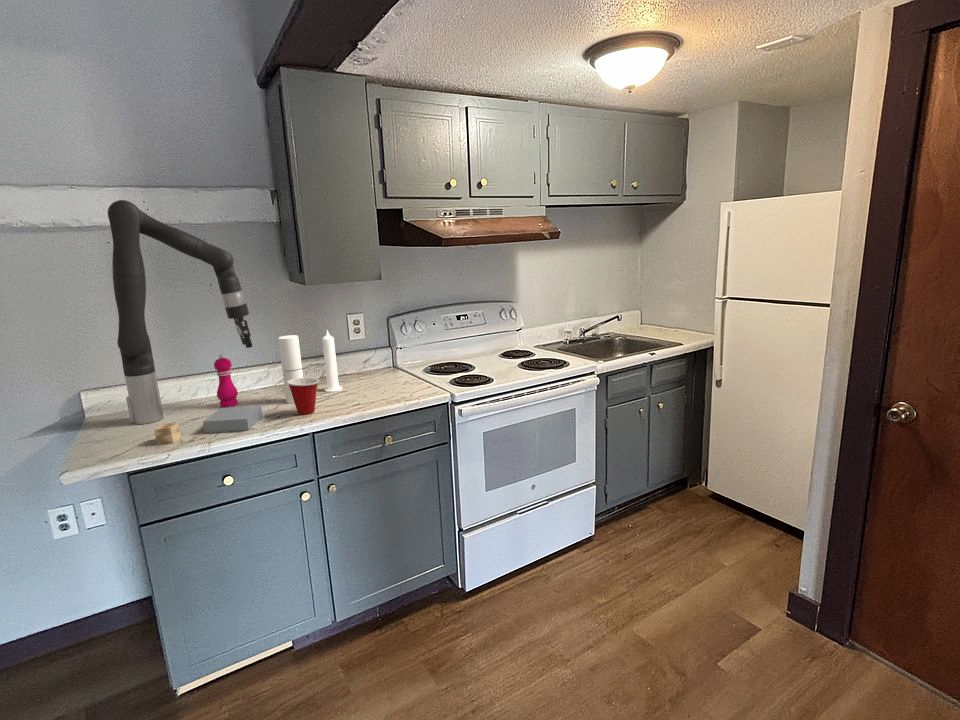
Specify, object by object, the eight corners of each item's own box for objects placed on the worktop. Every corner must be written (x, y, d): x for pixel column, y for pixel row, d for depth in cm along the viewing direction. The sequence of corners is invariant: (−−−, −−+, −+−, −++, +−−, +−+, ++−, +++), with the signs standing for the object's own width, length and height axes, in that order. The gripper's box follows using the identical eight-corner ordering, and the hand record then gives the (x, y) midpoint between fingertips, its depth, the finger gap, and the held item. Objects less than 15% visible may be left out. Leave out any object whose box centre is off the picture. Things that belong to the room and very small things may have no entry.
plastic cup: (326, 413, 190) (322, 380, 187) (295, 419, 185) (290, 385, 182) (318, 405, 199) (314, 374, 197) (288, 411, 194) (284, 379, 191)
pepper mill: (231, 408, 200) (223, 356, 196) (214, 407, 202) (206, 356, 197) (243, 402, 207) (235, 352, 203) (226, 401, 209) (219, 352, 204)
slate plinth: (205, 433, 175) (203, 421, 174) (222, 419, 188) (220, 408, 187) (248, 430, 176) (247, 418, 175) (262, 416, 189) (261, 405, 188)
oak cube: (156, 444, 167) (154, 429, 166) (164, 438, 172) (162, 423, 171) (173, 443, 167) (170, 428, 166) (181, 437, 172) (178, 422, 171)
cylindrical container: (297, 403, 203) (289, 339, 197) (282, 402, 205) (274, 338, 199) (309, 398, 209) (302, 335, 204) (294, 397, 212) (286, 334, 206)
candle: (345, 387, 222) (339, 328, 216) (337, 392, 215) (330, 331, 210) (329, 387, 224) (323, 328, 218) (321, 392, 217) (314, 331, 211)
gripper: (222, 305, 202) (234, 345, 207) (227, 308, 190) (240, 351, 195) (242, 300, 206) (254, 340, 211) (249, 303, 194) (261, 345, 199)
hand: (247, 345), depth 203 cm, fingers open, 8 cm apart
